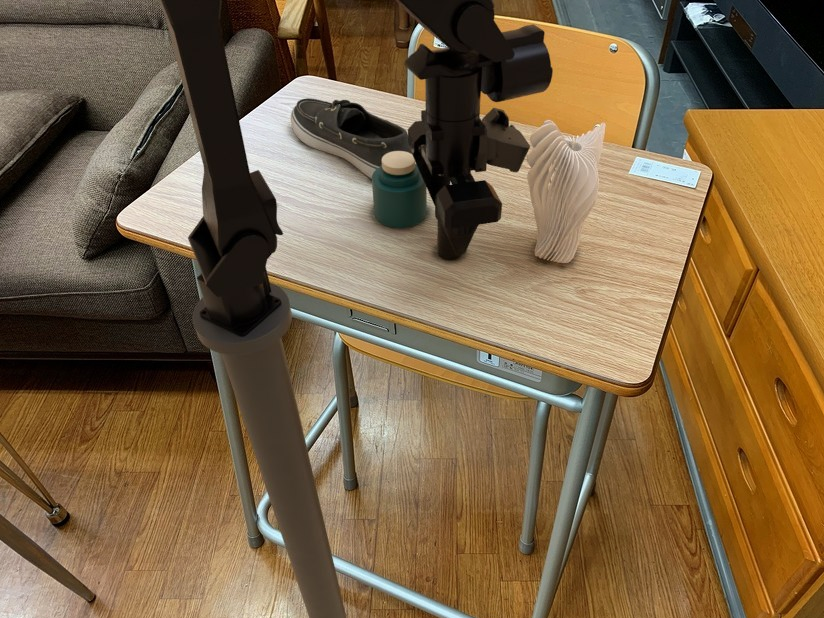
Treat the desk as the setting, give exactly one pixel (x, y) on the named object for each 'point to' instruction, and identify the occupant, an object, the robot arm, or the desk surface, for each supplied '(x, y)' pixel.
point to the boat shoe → (347, 132)
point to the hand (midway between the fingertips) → (450, 230)
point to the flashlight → (443, 240)
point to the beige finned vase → (563, 187)
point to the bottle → (399, 191)
